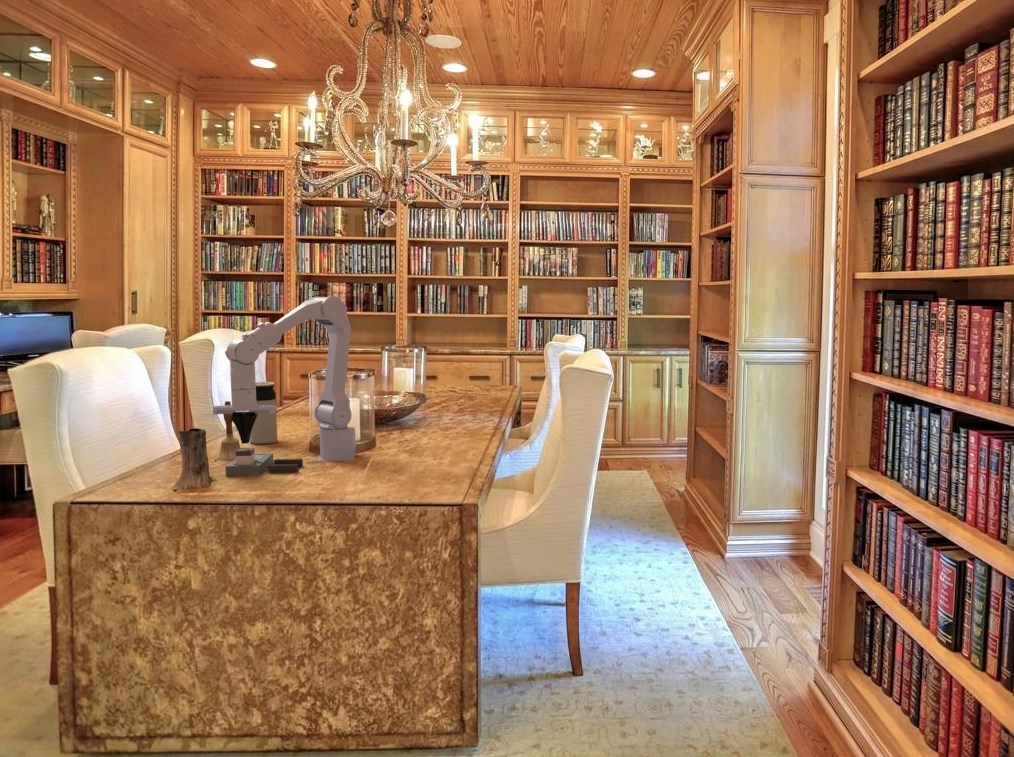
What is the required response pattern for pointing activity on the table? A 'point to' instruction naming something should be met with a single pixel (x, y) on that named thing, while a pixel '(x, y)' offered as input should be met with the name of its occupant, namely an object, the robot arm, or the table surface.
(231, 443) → the hand bell
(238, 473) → the port panel
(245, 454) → the plug
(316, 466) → the table surface
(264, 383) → the travel mug
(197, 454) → the tree stump
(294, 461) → the dark grey bracket
